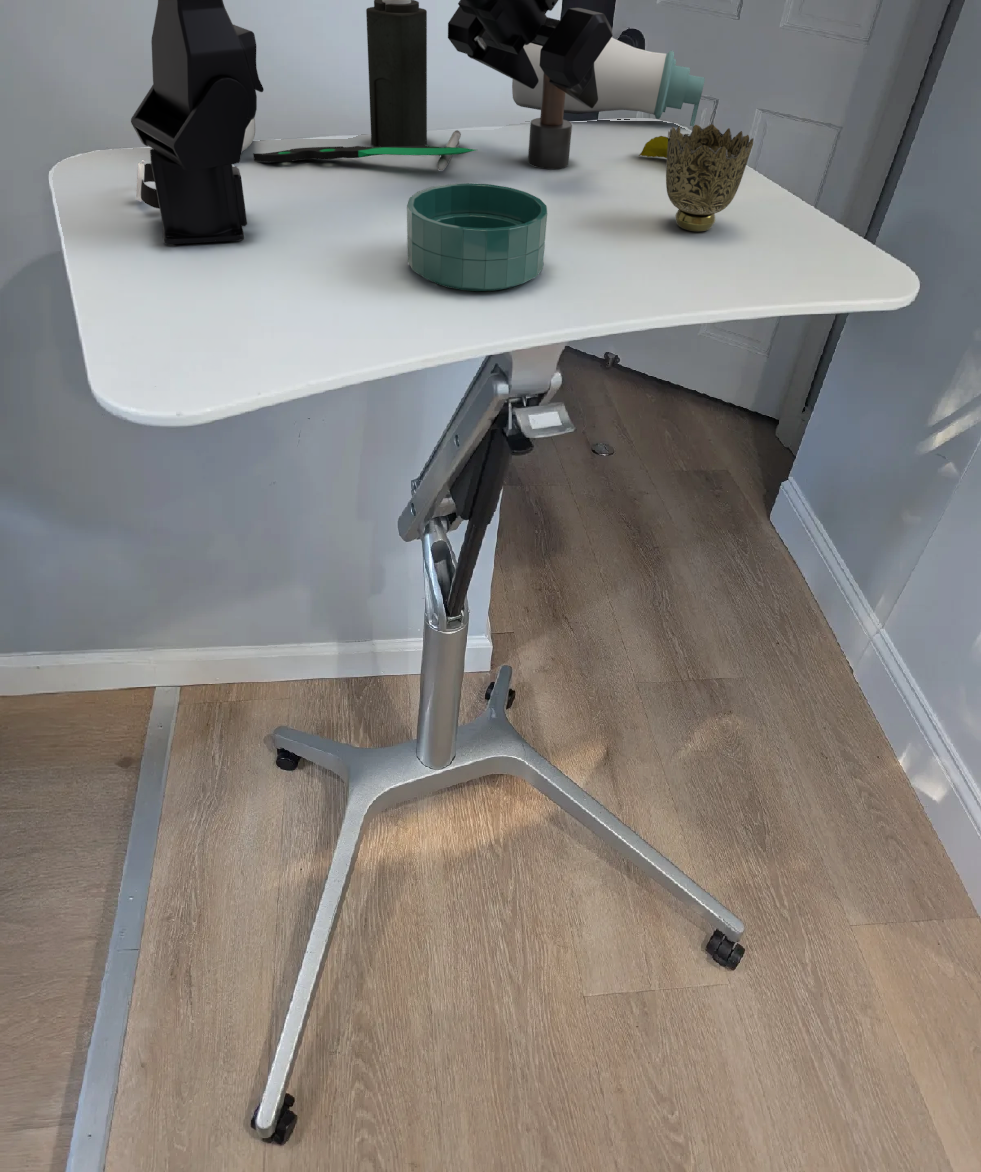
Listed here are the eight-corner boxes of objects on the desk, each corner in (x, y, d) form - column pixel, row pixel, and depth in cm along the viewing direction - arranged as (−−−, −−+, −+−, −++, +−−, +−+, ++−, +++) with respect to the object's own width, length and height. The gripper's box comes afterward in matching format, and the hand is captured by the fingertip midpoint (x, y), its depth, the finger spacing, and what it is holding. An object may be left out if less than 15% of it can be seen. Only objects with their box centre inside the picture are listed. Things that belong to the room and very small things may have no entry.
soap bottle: (507, 105, 109) (693, 137, 108) (520, 10, 104) (715, 42, 103) (517, 105, 118) (689, 134, 116) (529, 18, 113) (709, 47, 111)
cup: (707, 210, 88) (724, 121, 82) (749, 237, 82) (771, 143, 77) (639, 216, 85) (653, 125, 80) (679, 244, 80) (696, 148, 75)
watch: (137, 189, 84) (128, 148, 82) (189, 187, 86) (182, 146, 83) (136, 217, 79) (127, 174, 77) (192, 215, 80) (185, 172, 78)
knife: (248, 154, 92) (267, 146, 96) (250, 163, 92) (269, 154, 96) (470, 153, 87) (481, 144, 91) (471, 161, 88) (481, 152, 92)
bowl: (426, 300, 69) (426, 234, 65) (395, 247, 76) (394, 186, 73) (560, 289, 71) (567, 225, 68) (517, 240, 79) (521, 180, 76)
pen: (462, 141, 101) (462, 128, 100) (444, 179, 91) (444, 164, 90) (453, 141, 101) (453, 127, 100) (434, 178, 91) (434, 163, 90)
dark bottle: (431, 143, 101) (431, -143, 85) (404, 153, 97) (399, -143, 81) (394, 134, 103) (388, -147, 86) (366, 144, 99) (354, -147, 83)
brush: (535, 170, 95) (545, 39, 87) (522, 157, 98) (530, 30, 90) (574, 168, 96) (587, 39, 88) (560, 156, 99) (571, 30, 91)
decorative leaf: (718, 174, 96) (711, 149, 93) (706, 188, 96) (698, 164, 93) (653, 152, 102) (644, 128, 99) (642, 166, 102) (632, 142, 99)
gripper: (612, -98, 75) (677, 43, 87) (474, -117, 85) (550, 12, 98) (533, 19, 76) (609, 142, 89) (407, -14, 87) (490, 100, 99)
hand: (564, 94), depth 94 cm, fingers open, 9 cm apart
